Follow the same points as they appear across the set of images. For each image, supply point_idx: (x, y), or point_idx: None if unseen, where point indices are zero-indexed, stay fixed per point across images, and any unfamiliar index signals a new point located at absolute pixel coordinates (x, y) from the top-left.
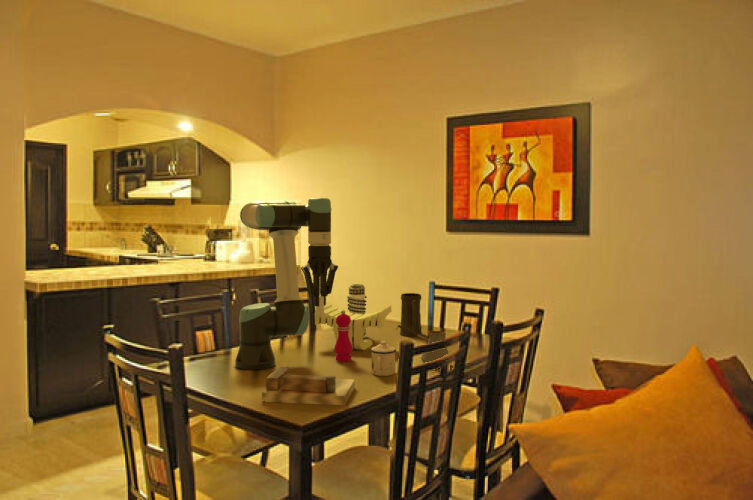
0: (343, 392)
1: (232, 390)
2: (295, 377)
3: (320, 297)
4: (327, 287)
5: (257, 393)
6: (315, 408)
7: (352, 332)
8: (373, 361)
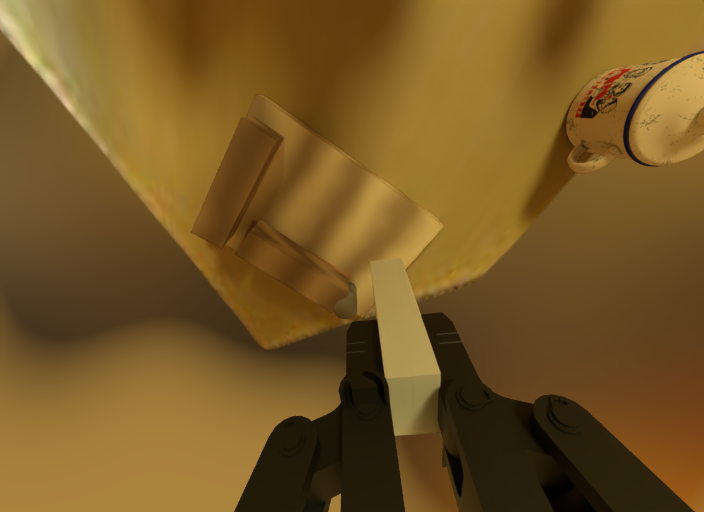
0: (369, 300)
1: (120, 81)
2: (267, 268)
3: (397, 428)
4: (620, 502)
5: (196, 148)
6: None
7: None
8: (598, 117)
